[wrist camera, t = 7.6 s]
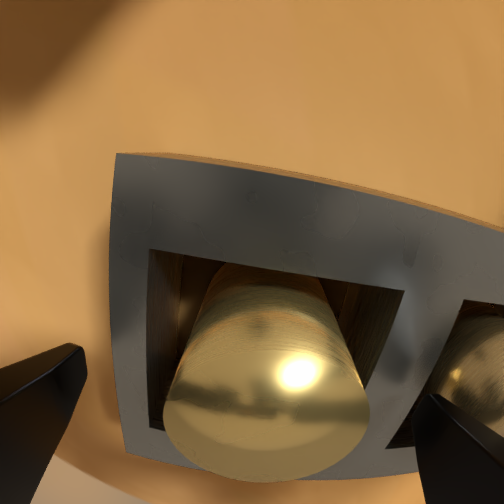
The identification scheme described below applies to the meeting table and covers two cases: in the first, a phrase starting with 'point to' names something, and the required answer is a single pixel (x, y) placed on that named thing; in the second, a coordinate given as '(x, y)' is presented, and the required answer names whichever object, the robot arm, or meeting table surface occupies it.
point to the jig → (294, 261)
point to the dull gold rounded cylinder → (473, 365)
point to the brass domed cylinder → (265, 380)
